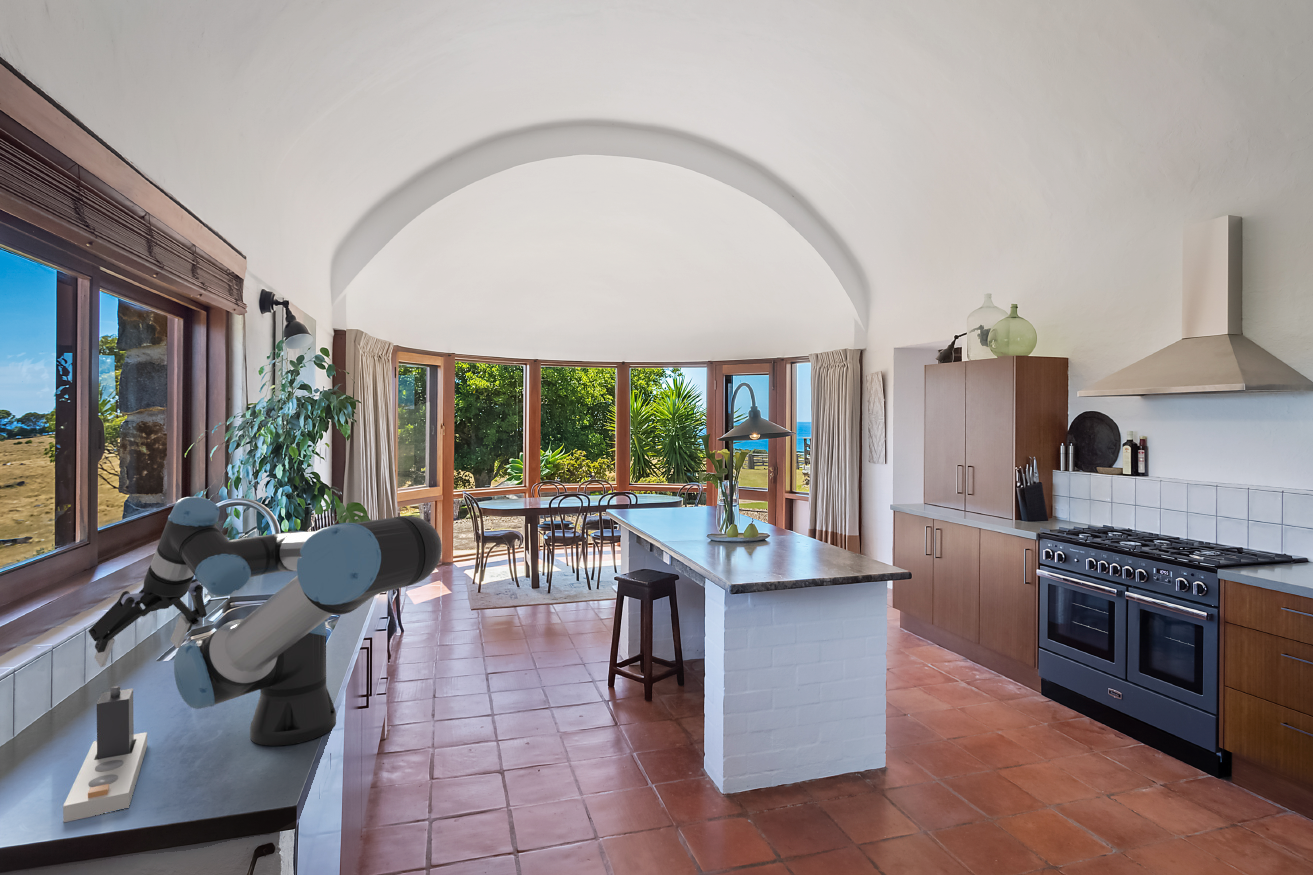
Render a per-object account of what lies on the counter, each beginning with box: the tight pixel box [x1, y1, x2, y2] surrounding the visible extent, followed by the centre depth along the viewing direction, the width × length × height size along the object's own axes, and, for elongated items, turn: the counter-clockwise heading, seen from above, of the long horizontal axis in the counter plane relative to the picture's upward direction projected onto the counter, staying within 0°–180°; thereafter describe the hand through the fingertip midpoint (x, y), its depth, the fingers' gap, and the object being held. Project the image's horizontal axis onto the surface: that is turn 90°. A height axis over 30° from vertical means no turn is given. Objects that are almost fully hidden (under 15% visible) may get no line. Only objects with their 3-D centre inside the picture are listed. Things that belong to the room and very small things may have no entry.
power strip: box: [62, 731, 148, 823], centre depth 122 cm, size 26×8×3 cm, turn 30°
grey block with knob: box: [96, 685, 135, 760], centre depth 128 cm, size 6×4×12 cm
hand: (138, 652), depth 144 cm, fingers open, 13 cm apart
